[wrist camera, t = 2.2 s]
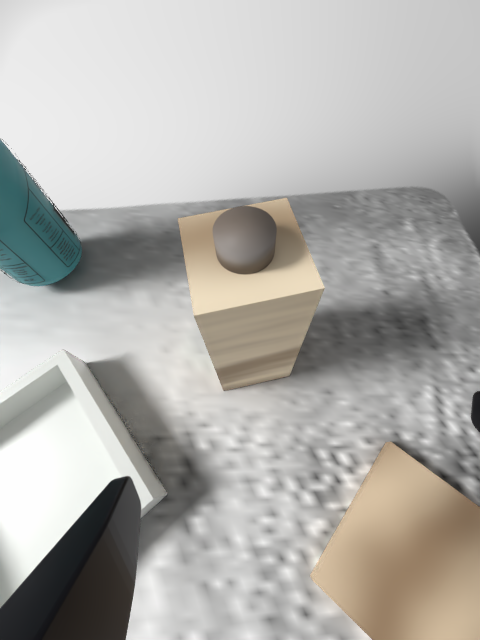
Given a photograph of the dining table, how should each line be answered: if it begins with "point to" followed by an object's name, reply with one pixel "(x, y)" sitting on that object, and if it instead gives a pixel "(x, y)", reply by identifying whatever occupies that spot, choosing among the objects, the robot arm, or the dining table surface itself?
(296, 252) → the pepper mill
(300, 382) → the dining table surface
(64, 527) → the tray
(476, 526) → the cork coaster
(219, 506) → the dining table surface
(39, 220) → the beverage bottle
